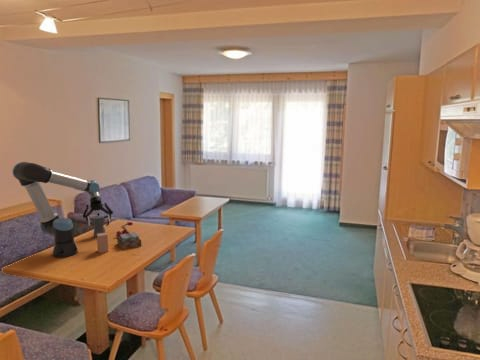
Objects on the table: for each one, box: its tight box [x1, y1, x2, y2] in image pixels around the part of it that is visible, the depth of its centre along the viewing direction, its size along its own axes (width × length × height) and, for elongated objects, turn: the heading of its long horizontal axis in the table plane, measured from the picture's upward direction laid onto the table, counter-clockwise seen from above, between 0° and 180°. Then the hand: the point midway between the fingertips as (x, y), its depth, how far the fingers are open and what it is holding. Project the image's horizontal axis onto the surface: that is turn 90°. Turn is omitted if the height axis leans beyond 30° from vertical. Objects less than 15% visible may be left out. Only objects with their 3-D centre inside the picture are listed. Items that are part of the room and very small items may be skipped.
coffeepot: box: [89, 212, 110, 238], centre depth 283 cm, size 15×9×18 cm, turn 112°
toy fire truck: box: [115, 221, 134, 238], centre depth 283 cm, size 3×14×10 cm, turn 143°
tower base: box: [116, 231, 142, 250], centre depth 260 cm, size 14×14×7 cm
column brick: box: [96, 232, 109, 254], centre depth 247 cm, size 6×6×12 cm
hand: (99, 223), depth 256 cm, fingers open, 13 cm apart
